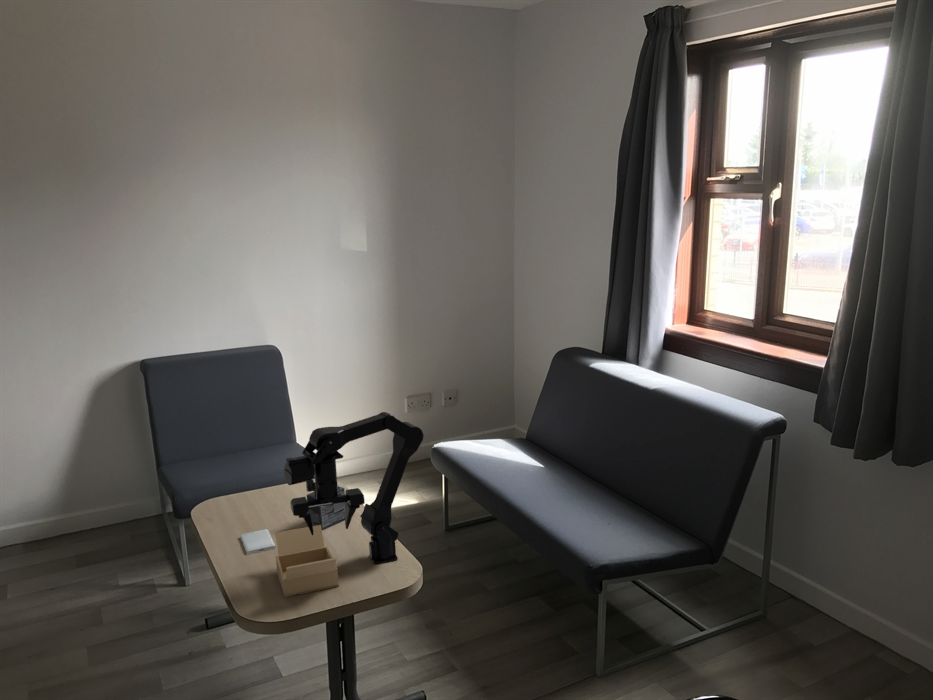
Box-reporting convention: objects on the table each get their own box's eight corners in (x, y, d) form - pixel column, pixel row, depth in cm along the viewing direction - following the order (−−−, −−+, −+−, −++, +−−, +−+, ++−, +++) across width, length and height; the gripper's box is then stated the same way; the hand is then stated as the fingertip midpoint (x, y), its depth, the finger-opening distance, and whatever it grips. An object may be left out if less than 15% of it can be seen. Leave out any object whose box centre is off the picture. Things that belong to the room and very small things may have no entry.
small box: (334, 514, 249) (331, 483, 247) (347, 519, 245) (345, 487, 243) (308, 525, 241) (305, 493, 239) (321, 531, 237) (319, 498, 235)
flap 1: (324, 546, 215) (324, 547, 216) (320, 524, 218) (320, 525, 218) (278, 555, 211) (278, 555, 211) (275, 532, 213) (275, 533, 214)
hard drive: (240, 534, 234) (247, 550, 223) (267, 528, 237) (275, 544, 226) (240, 539, 235) (247, 556, 223) (268, 533, 238) (276, 550, 227)
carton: (328, 563, 217) (327, 546, 216) (338, 586, 204) (337, 568, 203) (277, 573, 212) (275, 556, 211) (284, 597, 199) (282, 579, 198)
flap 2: (285, 578, 198) (286, 580, 198) (286, 567, 194) (286, 568, 194) (334, 569, 202) (334, 570, 202) (336, 557, 198) (336, 559, 198)
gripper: (354, 461, 216) (357, 514, 219) (285, 471, 210) (290, 525, 213) (363, 474, 206) (366, 529, 209) (291, 486, 199) (296, 542, 203)
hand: (329, 531), depth 209 cm, fingers open, 9 cm apart
